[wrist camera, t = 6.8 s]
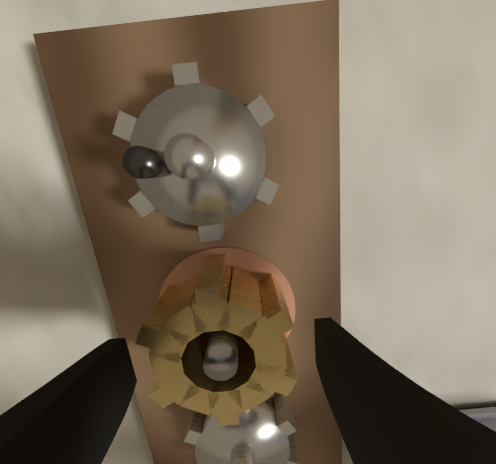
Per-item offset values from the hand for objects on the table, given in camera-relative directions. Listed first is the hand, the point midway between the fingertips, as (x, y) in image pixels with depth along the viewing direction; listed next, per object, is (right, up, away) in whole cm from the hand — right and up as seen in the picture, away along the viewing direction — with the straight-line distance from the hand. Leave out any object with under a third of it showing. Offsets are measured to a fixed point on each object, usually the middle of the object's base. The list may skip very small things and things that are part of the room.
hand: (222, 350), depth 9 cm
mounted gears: (0, +1, +2) cm, 2 cm away
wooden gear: (0, +1, +2) cm, 2 cm away
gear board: (0, +1, +4) cm, 4 cm away
